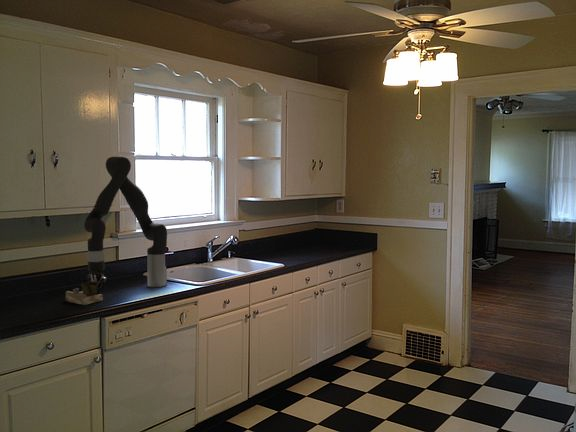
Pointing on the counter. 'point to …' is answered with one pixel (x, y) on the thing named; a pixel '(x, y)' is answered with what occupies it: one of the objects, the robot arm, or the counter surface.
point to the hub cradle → (82, 297)
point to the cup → (89, 289)
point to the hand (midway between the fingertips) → (97, 295)
